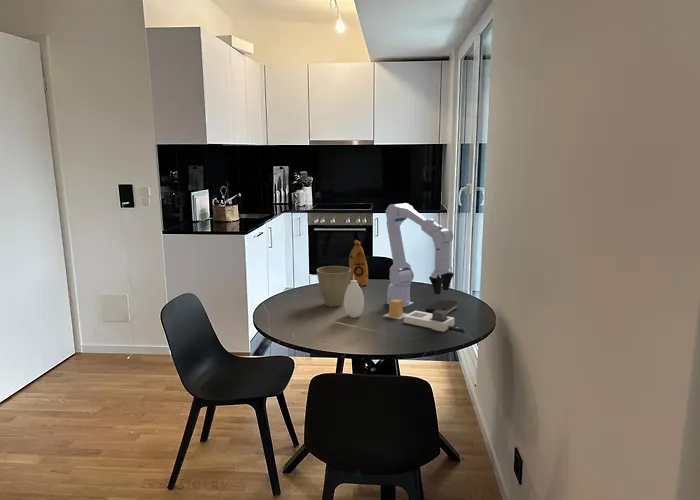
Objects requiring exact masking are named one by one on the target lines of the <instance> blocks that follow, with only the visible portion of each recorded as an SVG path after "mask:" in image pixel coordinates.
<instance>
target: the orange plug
mask: <svg viewBox="0 0 700 500" xmlns="http://www.w3.org/2000/svg"><path fill="white" fill-rule="evenodd" d="M388 313H389V315H390V316H395V317H399V316H401V315H403V313H404V307H403V300H398V299H393V300H391V301H389V304H388Z"/></svg>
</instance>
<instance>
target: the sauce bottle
mask: <svg viewBox="0 0 700 500" xmlns="http://www.w3.org/2000/svg"><path fill="white" fill-rule="evenodd" d="M363 293H364V292H363V290H362V288H361V286H359V284H358V283H357V280H354V274H353V280H351V281H350V280H349V285H348V287H347V290H346V293H345V297H344V302H343V306H344V309H345V312H346V314H347V316H349V317H350V318H359V316H360V315H362V313H363V311H364V307H365V298H364V294H363Z"/></svg>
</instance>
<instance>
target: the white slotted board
mask: <svg viewBox="0 0 700 500" xmlns="http://www.w3.org/2000/svg"><path fill="white" fill-rule="evenodd" d="M406 314H407V315H405V316H404V317H403V323H405V324H410V325H414V326H418V327H419V326H420V327H424V328H429V329H431V330H434V331H437V332H438V331H439V332H446V331H447V330H449V329H450V330H454V331H455V330H456V331H459V332H465V330H466V329H465V328H461V327H457V326H455V318H456V317H452V316H448V315H447V320H446V321H444V322H440V321H434V320H432V314H431V313H426V311H419V310H414V311H412V312H409V313H406Z"/></svg>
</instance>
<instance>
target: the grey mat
mask: <svg viewBox="0 0 700 500" xmlns="http://www.w3.org/2000/svg"><path fill="white" fill-rule="evenodd" d="M407 314H408V313H405V312H403V315H401V316H399V317H395V316H390V315H389V312H388V313H385V314H383V315H382V317H386V318H392V319H397V320H401V319H404V316H405V315H407Z"/></svg>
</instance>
